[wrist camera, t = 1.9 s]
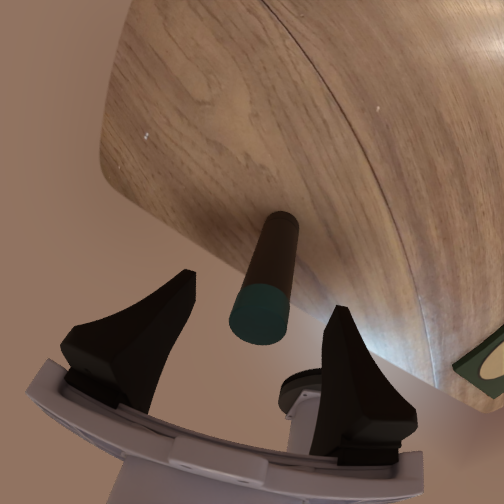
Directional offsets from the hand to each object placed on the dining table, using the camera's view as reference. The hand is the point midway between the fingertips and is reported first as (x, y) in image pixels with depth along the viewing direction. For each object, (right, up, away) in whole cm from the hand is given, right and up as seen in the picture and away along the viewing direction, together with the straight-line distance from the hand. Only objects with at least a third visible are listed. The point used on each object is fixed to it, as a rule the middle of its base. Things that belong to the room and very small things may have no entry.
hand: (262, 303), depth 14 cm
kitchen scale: (+36, -12, +9) cm, 39 cm away
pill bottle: (+2, +4, +7) cm, 8 cm away
